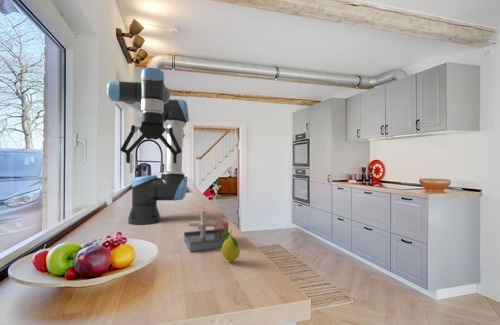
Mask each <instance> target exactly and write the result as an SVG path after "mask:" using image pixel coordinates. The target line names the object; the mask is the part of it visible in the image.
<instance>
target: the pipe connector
mask: <svg viewBox="0 0 500 325" xmlns="http://www.w3.org/2000/svg"><path fill="white" fill-rule="evenodd" d="M206 212H207V211H206V209H202V210H200V221H199V220H198V221H197V220H196V221H195V220H194V221H193V220H190V221H189V222H188V225H189V226H188V227H197V229H198V231H201V238H205V237H206V230H207V228H206V227H210V228H211V227H212V228H213V227H216V226H217V222H214V221H209V220H208V218H206V217H207V213H206Z"/></svg>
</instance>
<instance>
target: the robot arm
mask: <svg viewBox="0 0 500 325" xmlns="http://www.w3.org/2000/svg"><path fill="white" fill-rule="evenodd" d="M164 73H165V72H164V71H163V70H161V69H160V68H157V67H144V68H143V69H142V70H141V74H140V75H141V76H140V80H141V81H140V82H139V81H137V82H135V81H120V80H113V81H109V82H108V83H107V85H106V86H107V87H106V92H107V93H106V94H107V96H108V98H109V100H110V101H112V102H118V103H119V102H122V103H125V104H126V105H128V106H129V107H132V108H133V109H135V110H137V112H138V114H139V115H140V126H137V125H134V124H132V125H131V128H130V132H129V134H128V135H127V137H126V139H125V140H124V143H123V144H122V146H121V148H120V152H122V153H125V155H126V156H125V162H126V163H127V164H129V174H132V173H133V158H134V157H133V155H134V154H133V153H132V152H133V151H134V150H135V149H136V148H137V146H138V145H140V143H141V142H142V141H144V139H147V140H158V139H159V140H160V141H161V142H162V144H164V146H165V154H164V155H165V156H164V171H163V172H162V173H161V176H160V177H158V176H157V175H158V174H151V175H144V176H143V175H142V176H137V177H134V178H133V179H132V184H131V196H132V197H131V202H132V203H131V205H132V206H131V209H130V212H129V215H128V219H127V222H128V223H129V224H131V225H149V224H156V223H158V222H160V221H161V215H160V211H159V208H158V206H157V205H158V202H157V201H182V200H184V198H185V197H186V193H187V188H188V178H187V177H185V174H184V173H183V170H182V168H183V143H184V142H183V141H184V140H183V139H184V138H183V137H184V135H183V134H184V128H185V127H186V126H187V123H188V122H190V116H189V115H190V114H189V109H188V103H187V101H186V100H184V99H171V94H170V90H169V88H168V87H167V86H166V83H165V74H164ZM165 127H166V128H165ZM138 131H140V133H141V135H140V136H139V137H138V138H137V140H136V141H135V142H133V144H132V145H131V146H130V147H129V148H127V147H128V146H129V143H130V142H131V140H132V139H133V137H134V134H135V133H137V132H138ZM165 132H166V133H165ZM164 133H165V136H164V135H163V134H164Z"/></svg>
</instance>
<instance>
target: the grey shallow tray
mask: <svg viewBox="0 0 500 325" xmlns="http://www.w3.org/2000/svg"><path fill="white" fill-rule="evenodd" d="M213 216H214V217H213V218H214V219H213V222H217V226H216V227H214V229H206V237H205V238H201V230H195V231H194V230H193V231H192V230H191V231H184V232H183V241H184V244H185V246H186V247H187V250H188V251H189V253H195V252H204V251H212V250H214V251H215V250H220V249H221V250H222V246H223V243H224V241H225V240H226V239H228V238H229V237H226V238H222V237H221V235H222V233H223V232H225V231H227V232H229V222H228V221H226V220H225V219H224V218H223V217H221V216H220V215H218V214H217V215H213Z"/></svg>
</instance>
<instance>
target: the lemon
mask: <svg viewBox="0 0 500 325" xmlns="http://www.w3.org/2000/svg"><path fill="white" fill-rule="evenodd" d="M221 237H222V238H226V237H228V239H226V240H225V241H224V243H223V246H222V249H221V255H222V257H223V258H224V259H225V260H226V261H228V262H229V263H233V262H234V261H236V260H237V259H238V258H239V257H240V256H239V255H240V250H241V249H240V248H241V247H240V244H239V241H238V240H237V239H236V238H235V237H234V236H232V231H230V232H229V231H228V232H227V231H225V232H223V233H222V235H221Z"/></svg>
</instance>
